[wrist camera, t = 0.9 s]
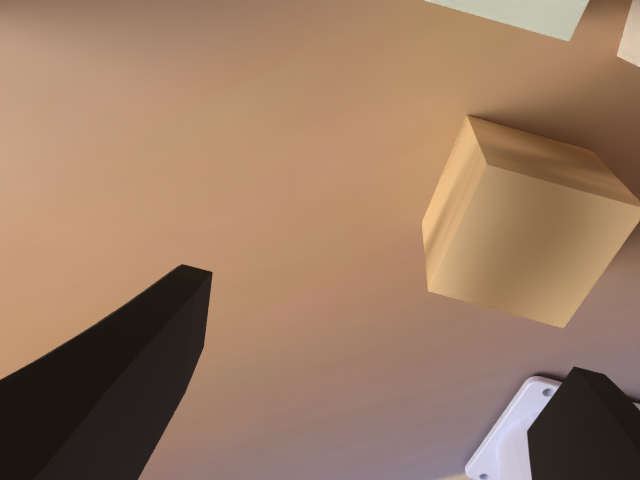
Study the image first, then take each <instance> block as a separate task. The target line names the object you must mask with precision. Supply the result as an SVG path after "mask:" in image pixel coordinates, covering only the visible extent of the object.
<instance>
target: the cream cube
mask: <svg viewBox="0 0 640 480" xmlns="http://www.w3.org/2000/svg"><path fill="white" fill-rule="evenodd" d="M617 56H618V57H620V58H622V59H624V60H626V61H628V62H630V63H632V64H634V65H636V66H638V67H640V0H632V4H631V7H630V11H629V14H628V18H627V21H626V25H625V28H624V32H623V35H622V39H621V43H620V46H619V50H618V53H617Z"/></svg>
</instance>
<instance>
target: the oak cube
mask: <svg viewBox="0 0 640 480" xmlns="http://www.w3.org/2000/svg"><path fill="white" fill-rule="evenodd" d="M639 221H640V201H639V200H638V199H637V198H636V197H635V196H634V195H633V194H632V193H631V192H630V191H629V189H628V188H627V187H626V186H625V185H624V184H623V183H622V182H621V181H620V180H619V179H618V178H617V177H616V176H615V175H614V174H613V173H612V172H611V171H610V169H609V168H608V167H607V166H606V165H605V164H604V163H603V162H602V161H601V160H600V159H599V158H598V157H597V156H596V155H595V154H594V153H593V152H592V151H591V150H589V149H585V148H582V147H578V146H575V145H571V144H568V143H564V142H560V141H557V140H553V139H550V138H546V137H543V136H539V135H536V134H532V133H529V132H525V131H522V130H518V129H514V128H511V127H507V126H504V125H500V124H497V123H493V122H490V121H486V120H483V119H479V118H476V117H472V116H468V115H467V116H466V118H465V120H464V123H463V125H462V128H461V130H460V133H459V135H458V137H457V140H456V142H455V145H454V147H453V149H452V152H451V154H450V157H449V159H448V161H447V164H446V166H445V169H444V171H443V173H442V176H441V178H440V181H439V183H438V185H437V188H436V190H435V193H434V195H433V198H432V200H431V202H430V205H429V207H428V210H427V212H426V214H425V217H424V219H423V222H422V230H423V240H424V251H425V262H426V273H427V284H428V291H430V292H434V293H437V294H441V295H444V296H448V297H452V298H455V299H459V300H463V301H466V302H470V303H473V304H477V305H481V306H484V307H488V308H491V309H495V310H499V311H502V312H506V313H509V314H513V315H517V316H520V317H524V318H528V319H531V320H535V321H538V322H542V323H546V324H549V325H553V326H556V327H560V328H564V327H565V325H566V324H567V323H568V321H569V320H570V318H571V317H572V315H573V314H574V313H575V311H576V310H577V308H578V307H579V306H580V304H581V303H582V301H583V300H584V298H585V297H586V296H587V294H588V293H589V291H590V290H591V289H592V287H593V286H594V284H595V283H596V282H597V280H598V279H599V277H600V276H601V274H602V273H603V272H604V270H605V269H606V267H607V266H608V265H609V263H610V262H611V260H612V259H613V257H614V256H615V255H616V253H617V252H618V250H619V249H620V248H621V246H622V245H623V243H624V242H625V241H626V239H627V238H628V236H629V235H630V233H631V232H632V231H633V229H634V228H635V226H636V225H637V224H638V222H639Z"/></svg>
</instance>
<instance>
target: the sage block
mask: <svg viewBox="0 0 640 480" xmlns="http://www.w3.org/2000/svg"><path fill="white" fill-rule="evenodd" d="M424 1H428V2H431V3H435V4H438V5H442V6H445V7H449V8H452V9H456V10H459V11H463V12H466V13H470V14H474V15H477V16H481V17H484V18H488V19H491V20H495V21H498V22H502V23H505V24H509V25H512V26H516V27H519V28H523V29H526V30H530V31H533V32H537V33H540V34H544V35H547V36H551V37H554V38H558V39H561V40H565V41H568V42H569V40H570V38H571V36H572V34H573V32H574V30H575V28H576V26H577V24H578V22H579V20H580V18H581V16H582V14H583V12H584V10H585V8H586V6H587V4H588V2H589V0H424Z"/></svg>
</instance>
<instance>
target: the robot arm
mask: <svg viewBox="0 0 640 480" xmlns="http://www.w3.org/2000/svg"><path fill="white" fill-rule="evenodd" d="M212 273H213V272H210V271H206V270H203V269H199V268H195V267H191V266H187V265H183V264H182V265H180V266H178V267H176V268H175V269H173V270H172V271H171V272H169V273H168V274H166V275H165V276H164V277H162V278H161V279H160V280H158V281H157V282H156V283H154V284H153V285H151V286H150V287H149V288H147V289H146V290H144V291H143V292H142V293H140V294H139V295H137V296H136V297H135V298H133V299H132V300H130V301H129V302H127V303H126V304H125V305H123V306H122V307H120V308H119V309H117V310H116V311H114V312H113V313H111V314H110V315H108V316H107V317H105V318H104V319H102V320H101V321H99V322H98V323H96V324H95V325H93V326H92V327H90V328H88V329H87V330H85V331H84V332H82V333H81V334H79V335H77V336H76V337H74V338H72V339H71V340H69V341H67V342H66V343H64V344H62V345H61V346H59V347H57V348H56V349H54V350H52V351H51V352H49V353H47V354H46V355H44V356H42V357H41V358H39V359H37V360H35V361H34V362H32V363H30V364H28V365H27V366H25V367H23V368H21V369H19V370H18V371H16V372H14V373H12V374H10V375H8V376H6V377H5V378H3V379H1V380H0V480H138V478H139V476H140V474H141V473H142V471H143V469H144V467H145V465H146V464H147V462H148V460H149V458H150V456H151V454H152V453H153V451H154V449H155V447H156V445H157V443H158V442H159V440H160V438H161V436H162V434H163V433H164V431H165V429H166V427H167V425H168V423H169V421H170V420H171V418H172V416H173V414H174V412H175V410H176V409H177V407H178V405H179V403H180V401H181V399H182V397H183V396H184V394H185V392H186V389H187V387H188V384H189V382H190V380H191V377H192V375H193V372H194V370H195V367H196V365H197V362H198V360H199V357H200V355H201V352H202V350H203V347H204V340H205V332H206V324H207V315H208V307H209V298H210V290H211V281H212ZM545 389H548V390H545ZM465 472H466V475H467V476H468V477H469V478H471V479H475V480H640V404H637V403H634V402H632V401H631V400H630V399H629V398H628V397H627V396H626V395H625V394H624V393H623V392H622V391H621V390H620V389H619V388H618V387H617V386H616V385H615V384H614V383H613V382H612V381H611V380H610V379H609V378H608V377H607V376H606V375H605V374H601V373H597V372H593V371H589V370H586V369H582V368H578V367H573V369H572V370H571V371H570V373H569V374H568V375H567V377H566V378H565V380H564V381H563V382H559V381H555V380H552V379H548V378H544V377H540V376H533V377H530V378H528V379H527V380H526V381H525V383H524V384H523V385H522V387H521V388H520V390H519V391H518V393H517V394H516V395H515V397H514V398H513V400H512V401H511V402H510V404H509V405H508V407H507V408H506V410H505V411H504V412H503V414H502V415H501V417H500V418H499V419H498V421H497V422H496V424H495V425H494V426H493V428H492V429H491V431H490V432H489V434H488V435H487V436H486V438H485V439H484V441H483V442H482V443H481V445H480V446H479V448H478V449H477V451H476V452H475V453H474V455H473V456H472V458H471V459H470V460H469V462H468V463H467V465H466V467H465Z"/></svg>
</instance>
